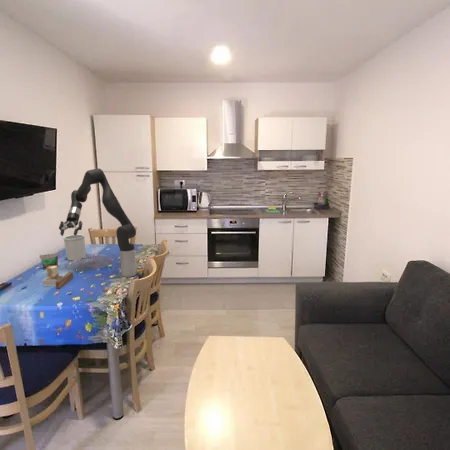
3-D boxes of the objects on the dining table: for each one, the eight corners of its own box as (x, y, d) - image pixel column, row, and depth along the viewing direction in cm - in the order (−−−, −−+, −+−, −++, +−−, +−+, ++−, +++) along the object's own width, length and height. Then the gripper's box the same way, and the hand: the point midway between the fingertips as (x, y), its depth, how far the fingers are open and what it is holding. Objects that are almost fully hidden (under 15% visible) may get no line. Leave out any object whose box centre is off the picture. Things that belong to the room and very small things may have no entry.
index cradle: (63, 280, 203) (62, 275, 202) (56, 285, 194) (55, 280, 194) (50, 280, 203) (49, 275, 202) (43, 286, 194) (42, 280, 193)
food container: (38, 270, 223) (36, 256, 221) (41, 267, 229) (39, 254, 227) (58, 268, 226) (56, 254, 224) (60, 265, 232) (58, 252, 230)
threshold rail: (73, 277, 207) (72, 271, 206) (59, 288, 190) (58, 282, 189) (70, 277, 207) (69, 271, 206) (56, 288, 190) (55, 282, 189)
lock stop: (59, 280, 200) (57, 265, 198) (55, 283, 196) (53, 268, 194) (52, 281, 200) (50, 265, 198) (48, 283, 196) (46, 268, 194)
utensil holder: (81, 260, 243) (79, 238, 239) (62, 261, 243) (59, 238, 240) (90, 255, 257) (87, 233, 254) (71, 255, 258) (69, 234, 254)
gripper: (61, 212, 217) (54, 232, 208) (82, 211, 217) (76, 231, 208) (65, 218, 223) (59, 238, 214) (86, 217, 223) (81, 237, 214)
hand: (68, 234), depth 211 cm, fingers open, 8 cm apart
